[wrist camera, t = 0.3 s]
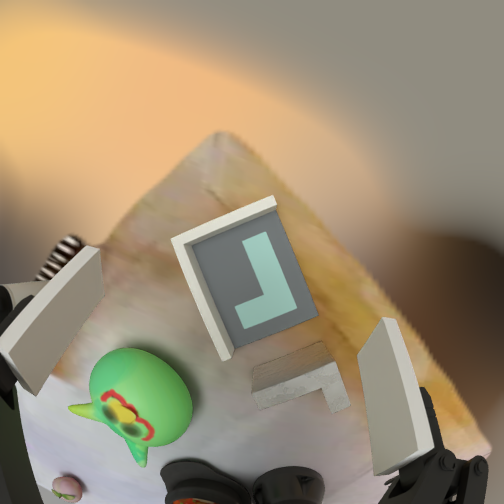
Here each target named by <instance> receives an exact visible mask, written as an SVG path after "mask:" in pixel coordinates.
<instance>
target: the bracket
mask: <svg viewBox="0 0 504 504" xmlns="http://www.w3.org/2000/svg"><path fill="white" fill-rule="evenodd" d="M320 388H321V390H322V392H323V395H324V397H325V400H326V402H327V404H328V407H329V409H330V411H331V414H333V413H335V412H338V411H340V410H342V409H345V408H347V407H349V406H351V404H350V401H349V398H348V396H347V393H346V390H345V387H344V384H343V381H342V379H341V376H340V373H339V370H338V367H337V365H336V362H335V360H334V359H333V357H332V356H331V354H330V353H329V351H328V350H327V348H326V347H325V345H324V344H323V342H322V341H320V342H317V343H315V344H313V345H310V346H308V347H305V348H303V349H301V350H298V351H296V352H293V353H291V354H288V355H286V356H283V357H280V358H278V359H275V360H273V361H270V362H267V363H264V364H262V365H259V366H256V367H254V373H253V382H252V392H251V394H252V396H253V398H254V400H255V402H256V404H257V406H258V408H259V410H262V409H265V408H268V407H271V406H274V405H277V404H280V403H283V402H286V401H289V400H291V399H294V398H297V397H299V396H302V395H305V394H307V393H310V392H312V391H315V390H317V389H320Z"/></svg>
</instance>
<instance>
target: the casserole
mask: <svg viewBox="0 0 504 504" xmlns="http://www.w3.org/2000/svg"><path fill="white" fill-rule="evenodd" d="M160 475H161V477H162V479H163V481H164V483H165V485H166V489H167V492H168V494H167V495H166V497H165V504H251V498H250V495H249V493H248V492H247V491H246V489H245V488H243V487H242V486H241V485H240V484H238V483H237V482H235V481H233V480H231V479H229V478H227V477H224V476H222V475H220V474H218V473H216V472H215V471H213V470H212V469H210V468H209V467H207V466H206V465H204V464H201V463H198V462H191V461H181V462H174V463H171V464H168V465H166V466H165V467H163V468H162V469H161V472H160Z"/></svg>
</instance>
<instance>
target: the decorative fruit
mask: <svg viewBox="0 0 504 504" xmlns="http://www.w3.org/2000/svg"><path fill="white" fill-rule="evenodd" d="M52 485H53V489H54V490H53V489H51V490H52V492H53V493H54V494H55V495H56V496H58V497H59V498H62V499H63V500H65V501H67V502H71V503H75V502H78V501H80V499H81V498H82V488H81V486H80V484H79V483H78V482H77V481H76V480H75V479H73V478H70V477H58V478H56V479H54V480H53V484H52Z"/></svg>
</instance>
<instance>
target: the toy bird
mask: <svg viewBox="0 0 504 504" xmlns="http://www.w3.org/2000/svg"><path fill="white" fill-rule="evenodd" d="M89 390H90V396H91V400H92V403H88V404H78V405H71V406H69V407H68V409H69V410H70V411H71V412H72V413H74V414H76V415H79V416H82V417H85V418H88V419H91V420H95V421H98V422H102V423H105V424H107V425H108V426H109V427H110V428H111V429H112V430H113V431H114V432H115V433H117V434H118V435H120V436H121V437H123V438H124V439H125V441H126V443H127V445H128V447H129V449H130V451H131V453H132V455H133V457H134V459H135V460H136V462H137V463H138V465H139V466H141V467H143V468H144V467H146V464H147V453H148V447H158V446H164V445H167V444H170V443H172V442H174V441H175V440H177V439H178V438H179V437H181V436H182V435H183V433H184V432H185V431H186V430H187V428H188V426H189V424H190V422H191V418H192V412H193V406H192V400H191V396H190V393H189V391H188V389H187V387H186V385H185V384H184V382H183V380H182V379H181V378H180V376H179V375H178V374H177V373H176V372H175V371H174V370H173V369H172V368H171V367H170V366H169V365H168V364H167V363H165V362H164V361H163V360H161V359H160V358H158V357H156V356H155V355H153V354H151V353H148V352H146V351H143V350H140V349H135V348H120V349H116V350H113V351H111V352H109V353H107V354H106V355H104V356H103V357H102V358H101V359H100V360H99V361H98V362H97V363H96V365H95V366H94V368H93V370H92V373H91V376H90V382H89Z"/></svg>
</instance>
